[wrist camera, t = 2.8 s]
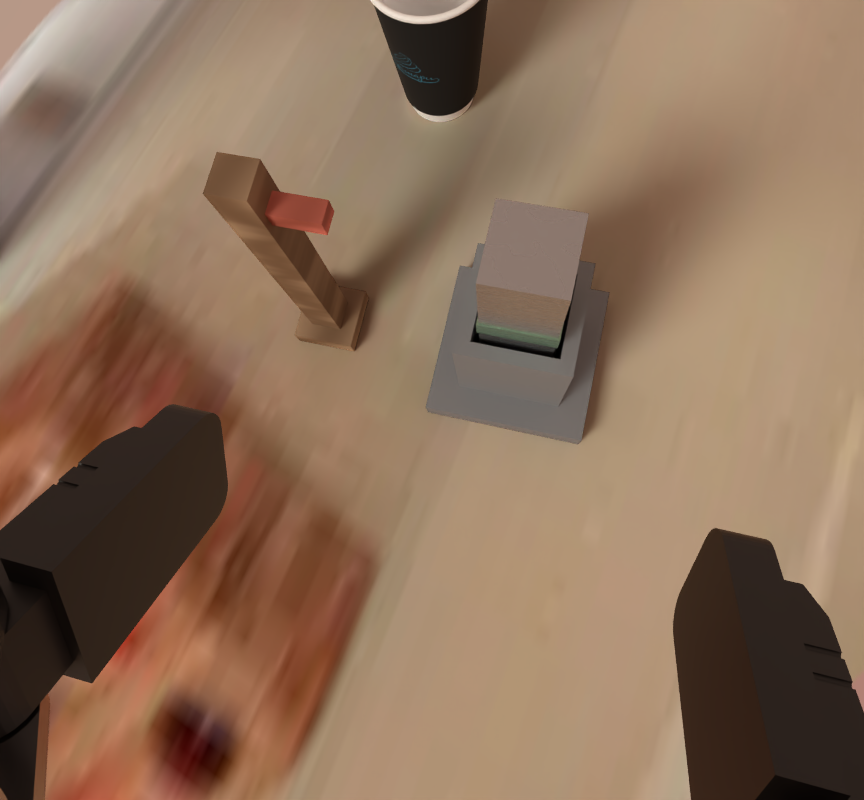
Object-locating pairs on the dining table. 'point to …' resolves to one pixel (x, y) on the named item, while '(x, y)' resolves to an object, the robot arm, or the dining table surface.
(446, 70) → the dixie cup
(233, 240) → the dining table surface
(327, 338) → the height gauge
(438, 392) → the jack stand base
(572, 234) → the steel column
